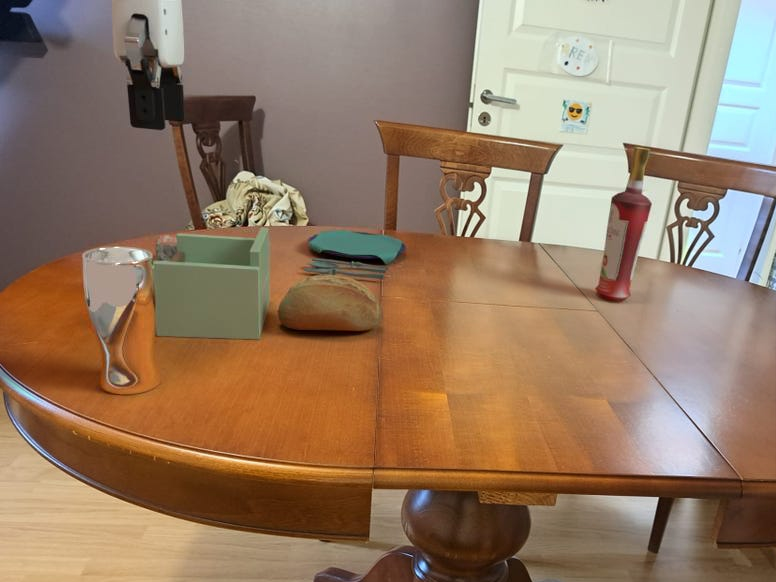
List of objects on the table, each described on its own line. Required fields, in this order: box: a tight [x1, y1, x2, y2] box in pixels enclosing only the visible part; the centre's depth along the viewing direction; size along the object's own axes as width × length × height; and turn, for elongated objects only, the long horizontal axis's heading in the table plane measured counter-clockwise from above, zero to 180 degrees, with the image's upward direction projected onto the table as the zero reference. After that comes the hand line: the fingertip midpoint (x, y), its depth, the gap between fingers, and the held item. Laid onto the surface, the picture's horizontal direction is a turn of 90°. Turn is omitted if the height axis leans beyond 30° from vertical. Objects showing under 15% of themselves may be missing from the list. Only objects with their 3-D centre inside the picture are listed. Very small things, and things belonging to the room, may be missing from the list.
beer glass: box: [81, 245, 162, 396], centre depth 72 cm, size 7×7×15 cm
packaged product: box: [154, 234, 177, 262], centre depth 117 cm, size 18×5×10 cm
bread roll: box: [277, 274, 384, 332], centre depth 96 cm, size 10×15×8 cm, turn 102°
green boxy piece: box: [153, 227, 271, 341], centre depth 94 cm, size 13×16×12 cm
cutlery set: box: [302, 229, 407, 280], centre depth 132 cm, size 20×30×2 cm, turn 0°
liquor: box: [594, 146, 653, 303], centre depth 123 cm, size 7×7×28 cm
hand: (159, 124), depth 72 cm, fingers open, 9 cm apart
